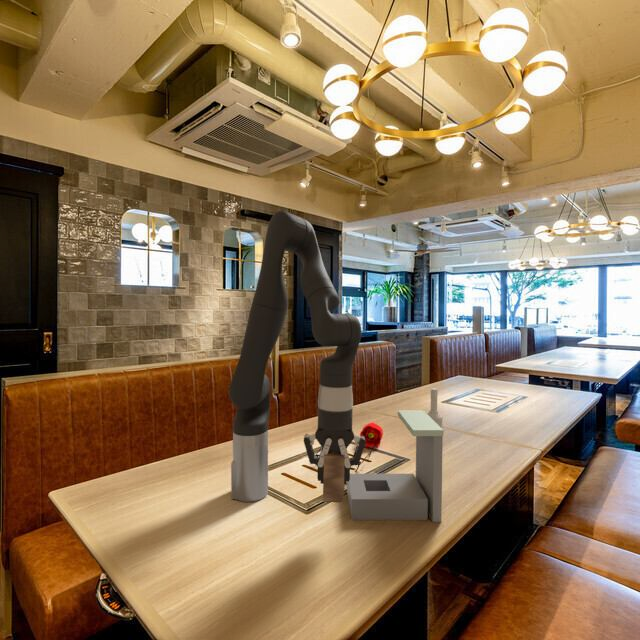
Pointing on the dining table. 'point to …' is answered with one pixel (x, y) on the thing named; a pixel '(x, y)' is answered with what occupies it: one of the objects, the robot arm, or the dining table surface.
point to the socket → (386, 497)
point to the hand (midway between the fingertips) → (333, 482)
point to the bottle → (435, 408)
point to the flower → (372, 434)
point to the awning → (427, 457)
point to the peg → (333, 477)
